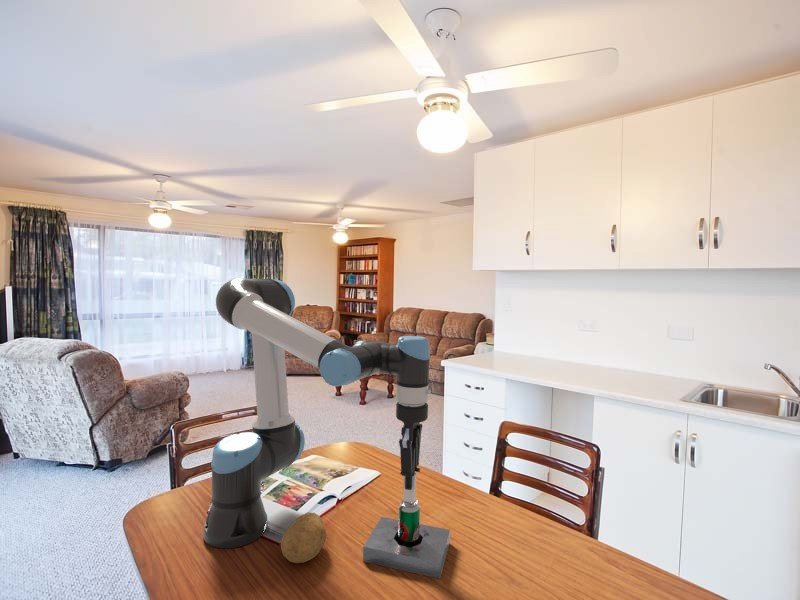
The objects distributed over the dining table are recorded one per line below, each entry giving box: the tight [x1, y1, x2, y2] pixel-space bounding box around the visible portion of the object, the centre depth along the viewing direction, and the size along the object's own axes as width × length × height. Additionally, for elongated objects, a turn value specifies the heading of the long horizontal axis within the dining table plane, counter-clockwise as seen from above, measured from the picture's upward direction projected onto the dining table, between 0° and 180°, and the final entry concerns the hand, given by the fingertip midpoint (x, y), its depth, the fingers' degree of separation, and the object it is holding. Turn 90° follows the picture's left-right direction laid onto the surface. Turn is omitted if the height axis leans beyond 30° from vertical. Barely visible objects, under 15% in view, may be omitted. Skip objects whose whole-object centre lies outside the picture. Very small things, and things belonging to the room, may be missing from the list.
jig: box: [362, 516, 451, 579], centre depth 99 cm, size 18×13×4 cm
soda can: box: [398, 499, 421, 547], centre depth 99 cm, size 5×5×12 cm
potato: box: [280, 512, 327, 564], centre depth 97 cm, size 10×14×8 cm
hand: (409, 500), depth 99 cm, fingers closed
